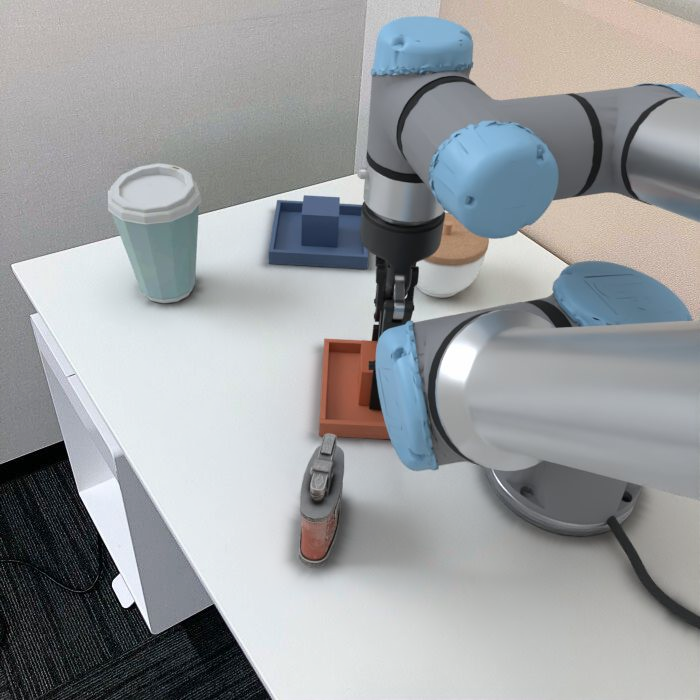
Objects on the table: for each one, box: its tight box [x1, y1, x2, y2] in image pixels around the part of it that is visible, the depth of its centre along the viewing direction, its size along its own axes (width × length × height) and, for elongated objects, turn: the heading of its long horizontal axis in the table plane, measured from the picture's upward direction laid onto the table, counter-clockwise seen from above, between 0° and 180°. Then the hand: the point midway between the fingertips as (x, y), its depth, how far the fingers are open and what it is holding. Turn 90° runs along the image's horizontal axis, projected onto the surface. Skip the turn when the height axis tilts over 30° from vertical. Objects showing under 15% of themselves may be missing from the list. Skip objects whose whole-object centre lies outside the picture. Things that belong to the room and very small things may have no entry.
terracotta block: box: [358, 339, 378, 406], centre depth 80 cm, size 5×5×5 cm
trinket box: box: [415, 211, 490, 299], centre depth 95 cm, size 11×11×9 cm
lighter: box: [298, 434, 345, 568], centre depth 65 cm, size 8×3×10 cm, turn 170°
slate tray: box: [268, 199, 369, 270], centre depth 103 cm, size 13×13×2 cm
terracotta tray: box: [318, 338, 390, 440], centre depth 81 cm, size 13×13×2 cm
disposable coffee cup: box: [107, 162, 202, 304], centre depth 89 cm, size 11×11×15 cm
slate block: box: [301, 194, 341, 247], centre depth 102 cm, size 5×5×5 cm
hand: (381, 388), depth 81 cm, fingers closed on terracotta block, 5 cm apart
